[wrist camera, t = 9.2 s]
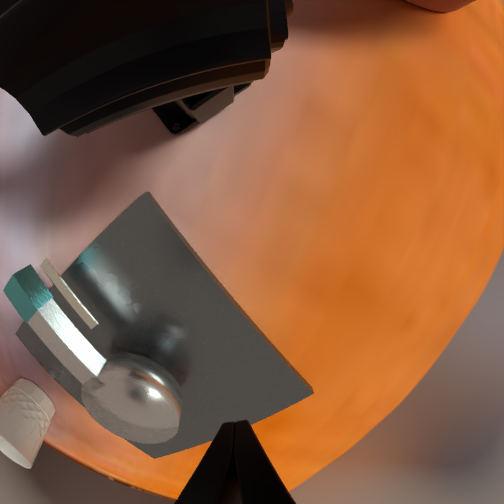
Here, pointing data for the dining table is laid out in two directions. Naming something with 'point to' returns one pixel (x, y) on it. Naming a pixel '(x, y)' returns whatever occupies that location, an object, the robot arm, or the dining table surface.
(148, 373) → the teal-tipped lever
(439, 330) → the dining table surface
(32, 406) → the white cup
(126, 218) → the lock base
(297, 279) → the dining table surface
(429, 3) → the potted cactus
